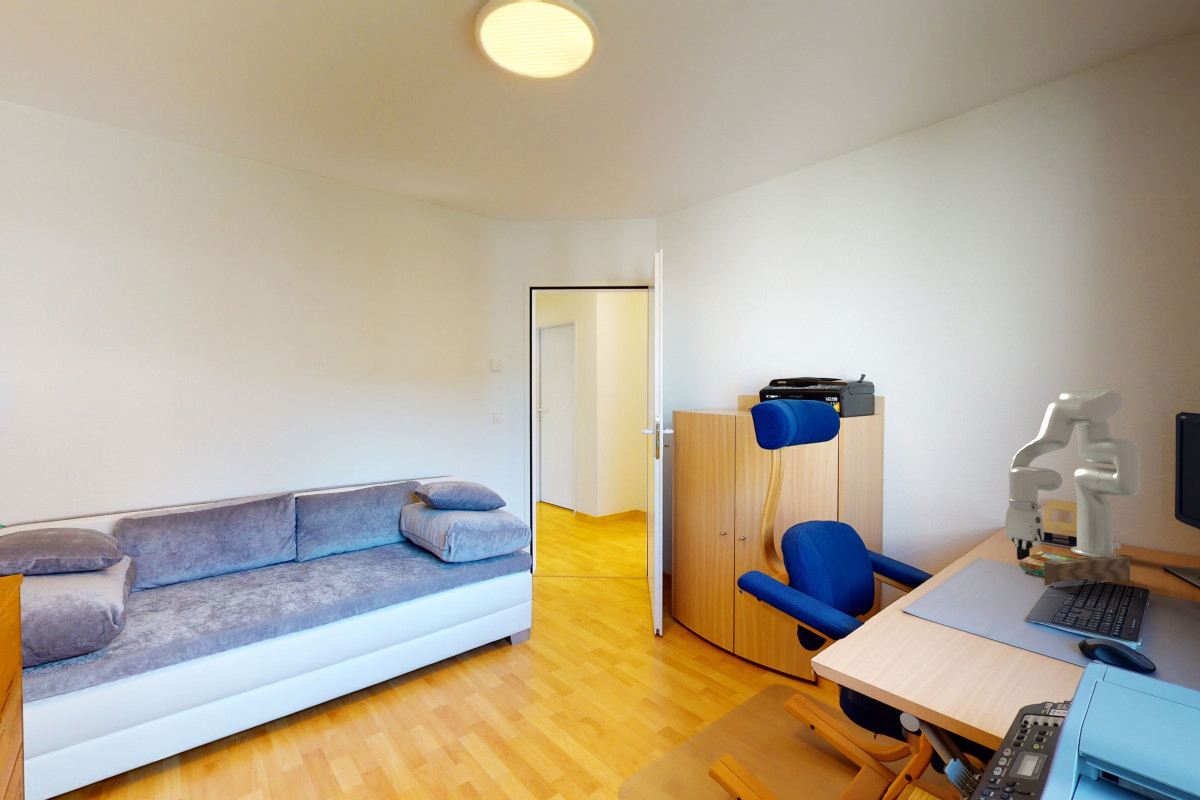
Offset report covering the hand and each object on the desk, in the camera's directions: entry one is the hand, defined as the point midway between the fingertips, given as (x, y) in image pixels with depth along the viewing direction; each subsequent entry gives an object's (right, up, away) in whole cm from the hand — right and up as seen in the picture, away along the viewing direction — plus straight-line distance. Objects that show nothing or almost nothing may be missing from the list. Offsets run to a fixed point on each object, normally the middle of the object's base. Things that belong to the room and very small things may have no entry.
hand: (1023, 559), depth 177 cm
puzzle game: (+4, -2, -7) cm, 8 cm away
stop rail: (+5, -1, -18) cm, 19 cm away
